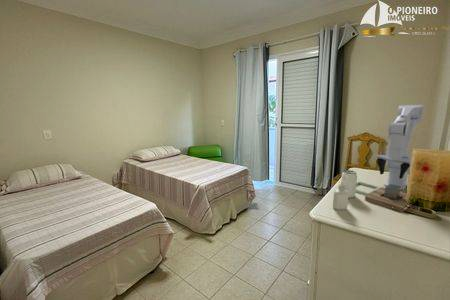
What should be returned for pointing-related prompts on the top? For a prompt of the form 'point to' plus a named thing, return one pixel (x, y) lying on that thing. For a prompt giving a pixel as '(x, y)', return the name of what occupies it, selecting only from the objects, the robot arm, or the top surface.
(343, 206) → the eye dropper bottle
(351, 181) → the can
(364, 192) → the grey rectangular frame
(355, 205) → the top surface
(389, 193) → the billet
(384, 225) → the top surface
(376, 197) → the pallet
